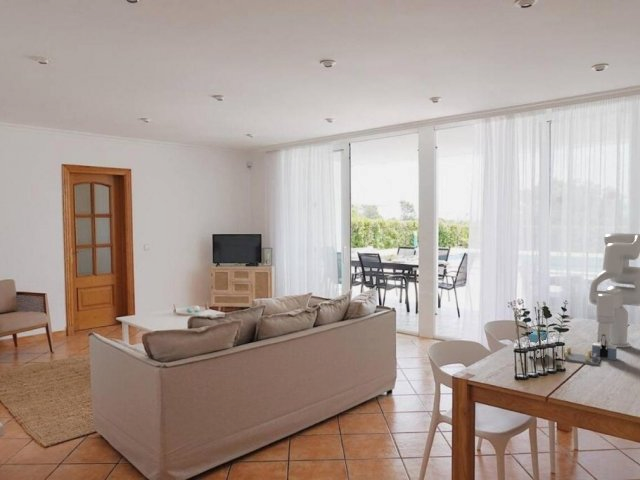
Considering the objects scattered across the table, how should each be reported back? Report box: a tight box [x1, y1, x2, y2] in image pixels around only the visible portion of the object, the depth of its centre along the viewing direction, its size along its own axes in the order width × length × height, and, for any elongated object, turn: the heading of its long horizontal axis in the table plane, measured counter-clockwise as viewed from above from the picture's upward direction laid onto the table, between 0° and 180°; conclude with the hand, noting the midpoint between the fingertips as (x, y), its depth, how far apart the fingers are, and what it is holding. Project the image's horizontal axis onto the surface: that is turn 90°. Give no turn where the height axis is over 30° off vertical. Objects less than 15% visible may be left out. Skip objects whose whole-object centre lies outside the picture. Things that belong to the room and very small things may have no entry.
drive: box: [591, 342, 618, 361], centre depth 231 cm, size 4×10×6 cm, turn 54°
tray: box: [564, 346, 602, 367], centre depth 228 cm, size 12×18×4 cm, turn 54°
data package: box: [528, 330, 548, 354], centre depth 234 cm, size 12×4×12 cm, turn 133°
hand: (604, 355), depth 231 cm, fingers closed on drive, 4 cm apart
